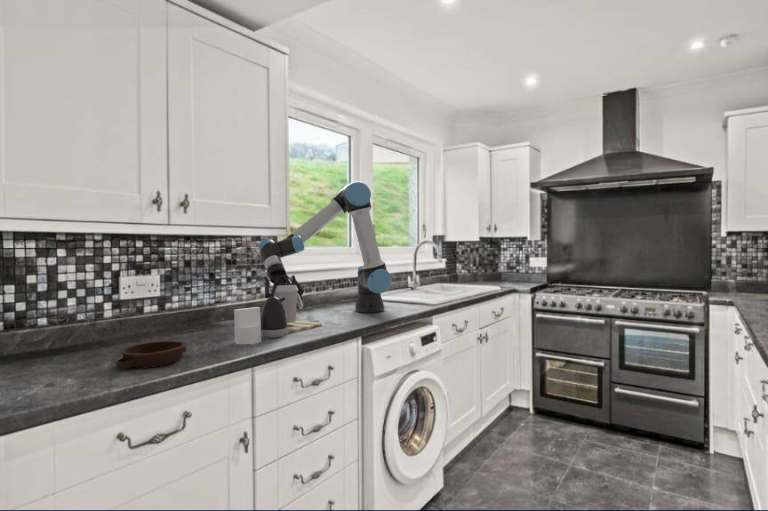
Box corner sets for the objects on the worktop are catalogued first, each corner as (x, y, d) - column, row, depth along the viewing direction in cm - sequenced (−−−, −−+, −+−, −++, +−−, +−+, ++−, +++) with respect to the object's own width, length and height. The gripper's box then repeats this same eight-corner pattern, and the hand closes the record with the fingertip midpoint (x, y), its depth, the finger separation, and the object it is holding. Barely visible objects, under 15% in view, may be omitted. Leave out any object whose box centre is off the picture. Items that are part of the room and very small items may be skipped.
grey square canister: (253, 338, 168) (252, 306, 168) (265, 341, 162) (265, 308, 161) (230, 342, 162) (229, 308, 162) (242, 346, 155) (241, 311, 155)
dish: (205, 357, 142) (205, 341, 142) (140, 376, 122) (139, 357, 122) (166, 352, 149) (166, 337, 149) (99, 369, 129) (99, 352, 129)
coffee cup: (303, 321, 189) (303, 285, 188) (284, 324, 182) (283, 287, 182) (291, 319, 196) (290, 284, 195) (271, 322, 189) (270, 286, 189)
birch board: (289, 321, 203) (289, 319, 203) (322, 325, 191) (322, 323, 191) (252, 329, 187) (252, 326, 187) (286, 334, 175) (286, 331, 175)
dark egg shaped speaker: (293, 336, 170) (292, 296, 170) (269, 341, 163) (268, 298, 163) (278, 333, 177) (277, 294, 177) (254, 337, 170) (253, 296, 169)
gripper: (296, 272, 207) (312, 311, 195) (248, 275, 195) (262, 317, 182) (300, 261, 203) (317, 300, 190) (252, 263, 190) (266, 305, 178)
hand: (290, 308), depth 186 cm, fingers closed on coffee cup, 9 cm apart
